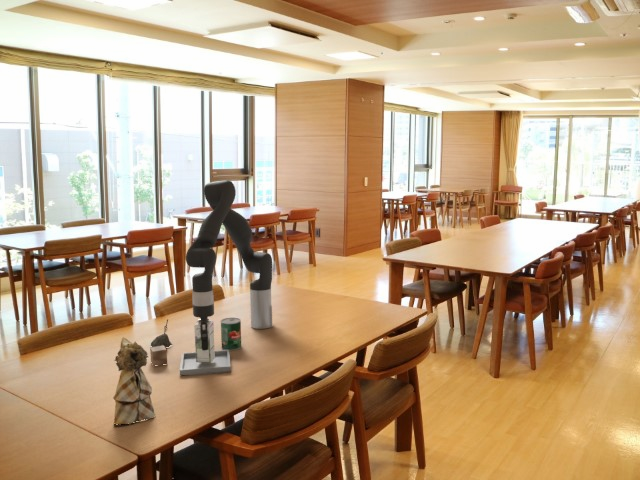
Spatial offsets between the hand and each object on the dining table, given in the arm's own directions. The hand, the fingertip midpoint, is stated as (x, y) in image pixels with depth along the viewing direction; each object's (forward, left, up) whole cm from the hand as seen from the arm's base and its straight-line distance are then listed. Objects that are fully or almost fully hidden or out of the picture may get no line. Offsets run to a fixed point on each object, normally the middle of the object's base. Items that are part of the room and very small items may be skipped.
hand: (205, 346), depth 217 cm
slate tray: (0, 0, -7) cm, 7 cm away
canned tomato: (-10, -18, -7) cm, 22 cm away
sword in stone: (+18, -25, -8) cm, 32 cm away
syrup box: (0, 0, -5) cm, 5 cm away
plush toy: (+20, +38, -7) cm, 44 cm away
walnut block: (+17, -5, -7) cm, 19 cm away
